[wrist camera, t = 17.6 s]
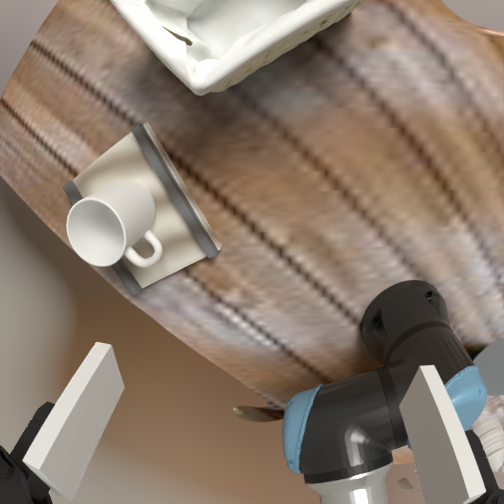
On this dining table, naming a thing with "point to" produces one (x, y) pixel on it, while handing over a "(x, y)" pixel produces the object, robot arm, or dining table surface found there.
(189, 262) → the rail board
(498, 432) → the honey pot
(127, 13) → the storage basket
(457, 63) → the dining table surface
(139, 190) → the cup
